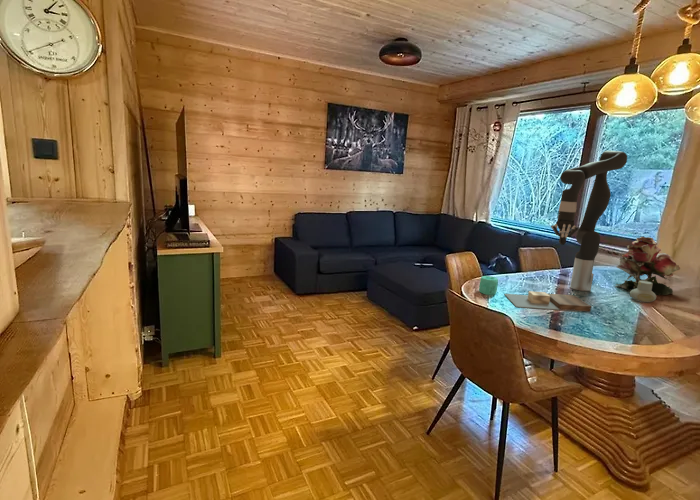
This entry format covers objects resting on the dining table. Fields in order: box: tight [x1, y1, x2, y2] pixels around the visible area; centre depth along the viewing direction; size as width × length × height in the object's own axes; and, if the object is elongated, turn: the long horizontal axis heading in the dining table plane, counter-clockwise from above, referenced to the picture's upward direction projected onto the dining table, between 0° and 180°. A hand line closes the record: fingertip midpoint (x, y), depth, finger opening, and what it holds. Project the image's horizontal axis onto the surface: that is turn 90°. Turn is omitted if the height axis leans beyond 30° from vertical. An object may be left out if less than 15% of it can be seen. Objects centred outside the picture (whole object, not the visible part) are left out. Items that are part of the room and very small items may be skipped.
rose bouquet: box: [615, 236, 681, 296], centre depth 222 cm, size 26×29×30 cm
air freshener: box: [629, 281, 657, 304], centre depth 202 cm, size 11×8×10 cm
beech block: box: [527, 290, 550, 304], centre depth 192 cm, size 8×6×4 cm
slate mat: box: [504, 293, 561, 311], centre depth 193 cm, size 20×19×1 cm
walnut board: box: [547, 293, 592, 312], centre depth 191 cm, size 14×16×2 cm
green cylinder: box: [478, 275, 499, 296], centre depth 204 cm, size 8×8×8 cm
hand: (561, 244), depth 200 cm, fingers closed
